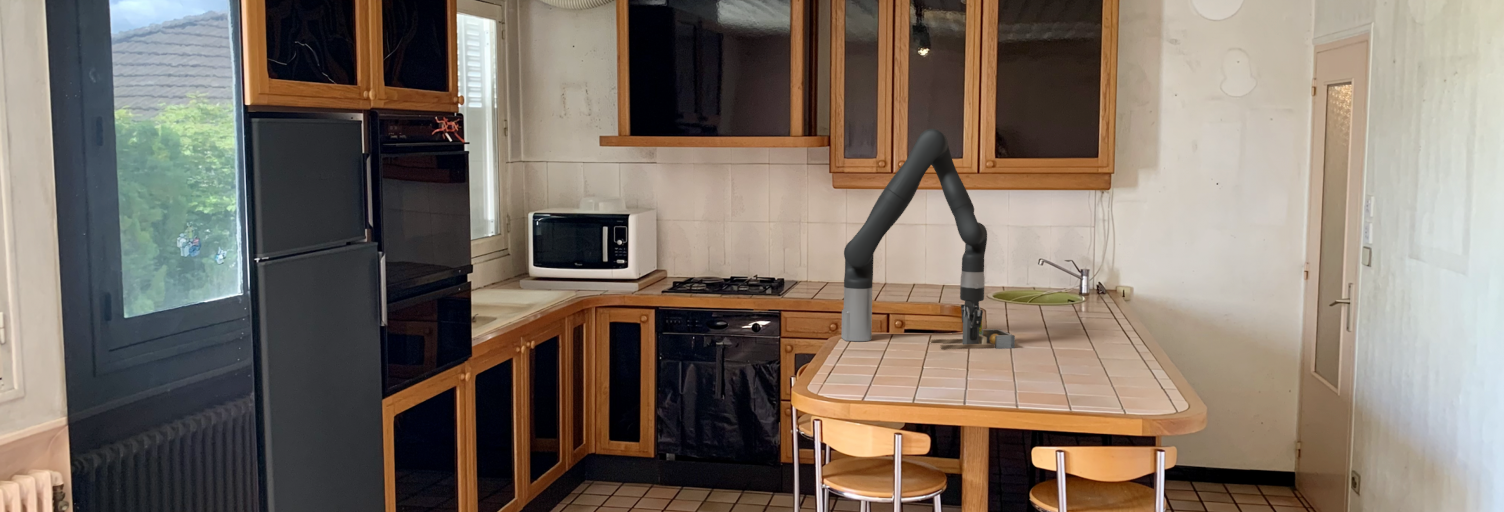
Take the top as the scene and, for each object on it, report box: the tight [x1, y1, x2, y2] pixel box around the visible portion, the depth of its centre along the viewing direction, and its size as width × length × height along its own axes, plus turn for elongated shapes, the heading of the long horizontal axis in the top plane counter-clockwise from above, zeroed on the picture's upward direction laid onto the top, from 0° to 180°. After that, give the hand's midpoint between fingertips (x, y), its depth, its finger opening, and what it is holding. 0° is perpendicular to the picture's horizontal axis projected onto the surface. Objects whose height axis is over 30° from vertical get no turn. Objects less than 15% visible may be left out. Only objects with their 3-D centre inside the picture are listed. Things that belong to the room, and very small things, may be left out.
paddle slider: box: [961, 316, 988, 344], centre depth 369 cm, size 6×7×9 cm
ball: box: [989, 334, 998, 344], centre depth 371 cm, size 4×4×4 cm
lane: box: [929, 338, 995, 350], centre depth 369 cm, size 17×11×1 cm, turn 99°
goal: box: [982, 328, 1016, 350], centre depth 371 cm, size 6×13×4 cm, turn 9°
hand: (970, 338), depth 370 cm, fingers closed on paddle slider, 4 cm apart
